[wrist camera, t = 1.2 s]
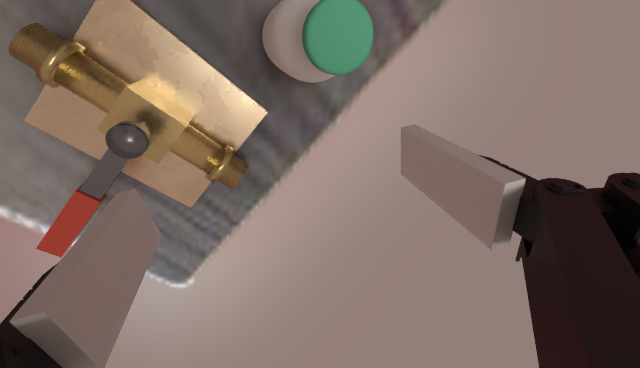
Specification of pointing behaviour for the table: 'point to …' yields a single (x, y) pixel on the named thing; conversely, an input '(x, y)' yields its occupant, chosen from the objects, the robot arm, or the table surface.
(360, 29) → the milk bottle
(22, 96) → the table surface
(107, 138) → the lever
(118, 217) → the robot arm
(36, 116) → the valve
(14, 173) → the table surface
